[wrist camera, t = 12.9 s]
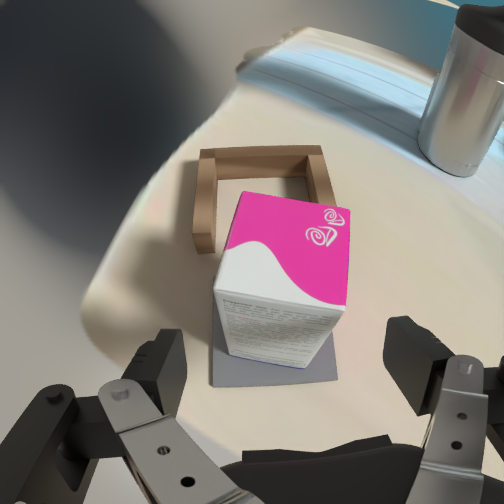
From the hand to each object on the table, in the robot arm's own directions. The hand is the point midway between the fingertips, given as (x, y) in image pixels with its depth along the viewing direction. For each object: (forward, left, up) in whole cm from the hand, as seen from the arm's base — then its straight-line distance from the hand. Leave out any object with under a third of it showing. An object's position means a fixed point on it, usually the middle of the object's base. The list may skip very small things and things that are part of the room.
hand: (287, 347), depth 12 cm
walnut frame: (-17, 0, -12) cm, 21 cm away
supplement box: (-5, 0, -12) cm, 13 cm away
